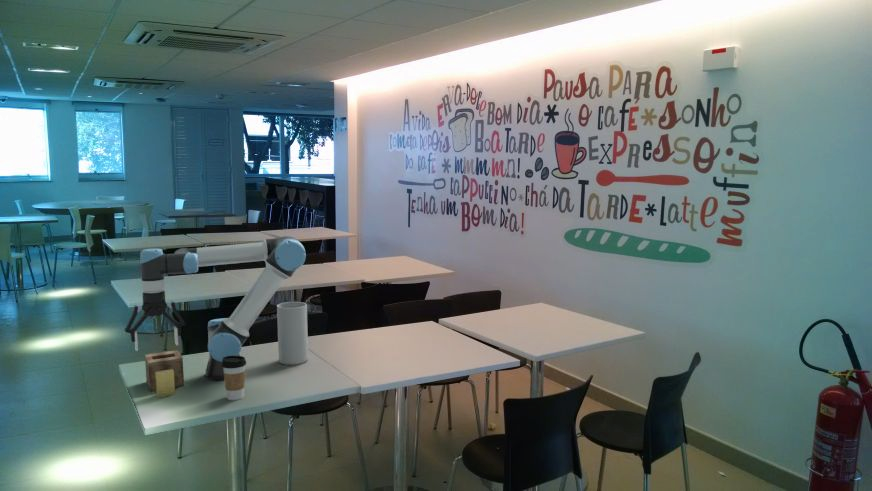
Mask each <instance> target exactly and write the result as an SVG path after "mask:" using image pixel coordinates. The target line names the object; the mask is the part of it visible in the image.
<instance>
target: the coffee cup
mask: <svg viewBox="0 0 872 491" xmlns="http://www.w3.org/2000/svg"><path fill="white" fill-rule="evenodd" d="M246 365H247V361H246V357H245V356H243V355H242V356H241V355H240V356H226V357H224V358H223V359H222V367H223V369H224V371H223V374H224V380H223V381H224V387H225V392H226V399H227V400H228V401H239V400H242V399H243V398H244V397H245V384H246V383H245V381H246Z"/></svg>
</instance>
